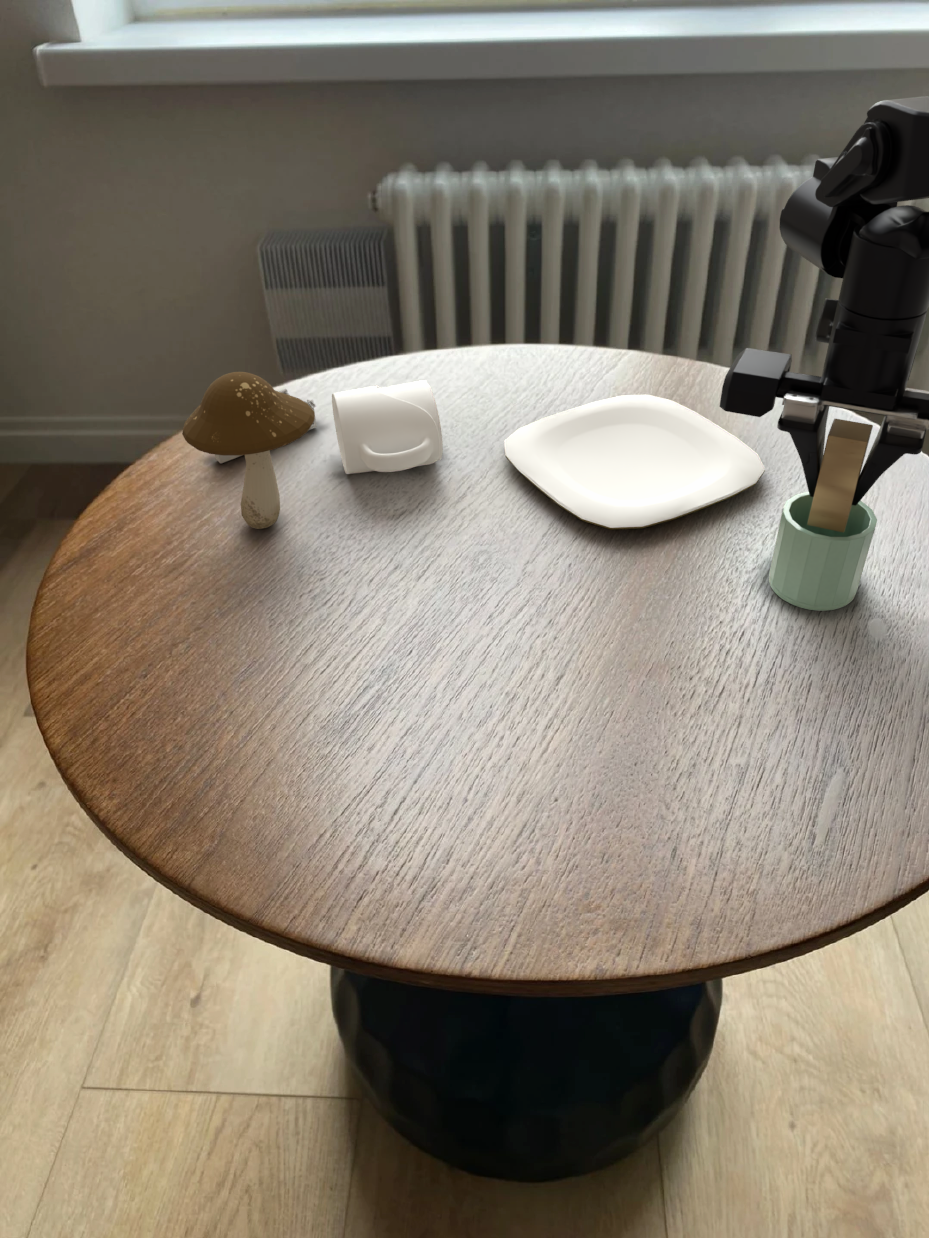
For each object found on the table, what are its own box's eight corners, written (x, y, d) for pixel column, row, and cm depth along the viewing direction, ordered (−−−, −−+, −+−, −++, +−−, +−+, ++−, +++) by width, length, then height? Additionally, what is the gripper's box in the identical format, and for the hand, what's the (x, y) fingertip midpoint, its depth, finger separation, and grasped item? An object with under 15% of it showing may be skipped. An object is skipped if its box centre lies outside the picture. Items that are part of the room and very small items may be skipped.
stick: (849, 514, 77) (873, 424, 72) (843, 533, 75) (867, 442, 70) (813, 507, 78) (834, 417, 73) (806, 525, 76) (828, 435, 71)
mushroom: (338, 538, 88) (316, 388, 78) (211, 562, 86) (172, 410, 76) (321, 487, 95) (299, 342, 85) (203, 508, 93) (167, 362, 83)
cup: (861, 570, 82) (882, 501, 77) (849, 619, 77) (869, 548, 73) (778, 551, 84) (793, 483, 80) (760, 598, 80) (775, 528, 75)
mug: (337, 446, 101) (327, 375, 96) (424, 432, 102) (419, 362, 97) (354, 507, 92) (345, 433, 87) (450, 491, 93) (446, 417, 88)
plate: (479, 450, 99) (479, 436, 98) (649, 396, 107) (650, 381, 106) (605, 557, 84) (606, 541, 83) (790, 485, 92) (793, 469, 91)
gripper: (1038, 279, 67) (971, 471, 77) (768, 247, 74) (738, 429, 84) (1034, 342, 60) (960, 547, 70) (733, 301, 66) (705, 494, 76)
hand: (833, 498), depth 75 cm, fingers closed on stick, 3 cm apart
